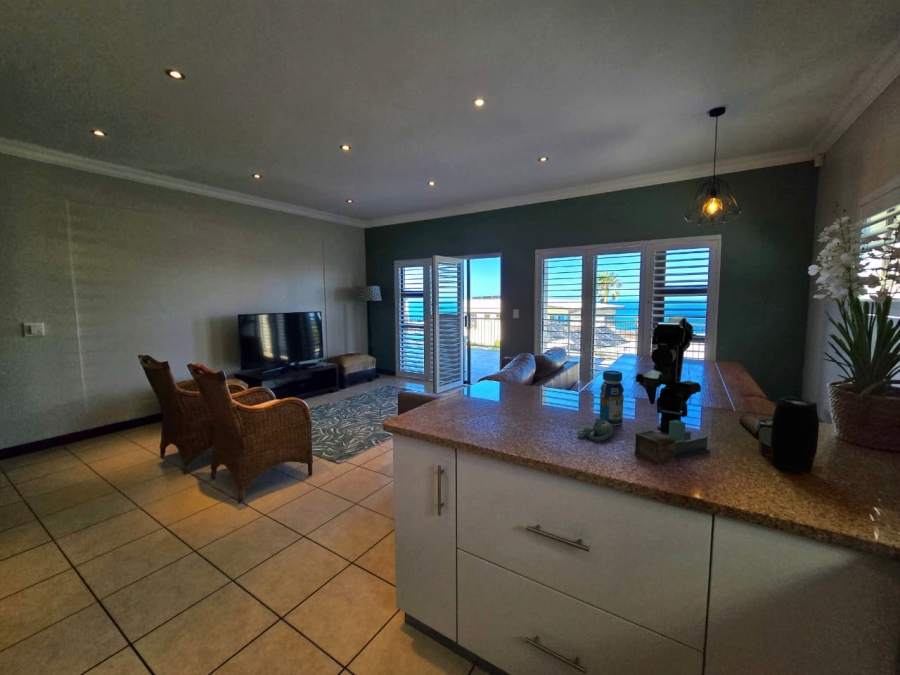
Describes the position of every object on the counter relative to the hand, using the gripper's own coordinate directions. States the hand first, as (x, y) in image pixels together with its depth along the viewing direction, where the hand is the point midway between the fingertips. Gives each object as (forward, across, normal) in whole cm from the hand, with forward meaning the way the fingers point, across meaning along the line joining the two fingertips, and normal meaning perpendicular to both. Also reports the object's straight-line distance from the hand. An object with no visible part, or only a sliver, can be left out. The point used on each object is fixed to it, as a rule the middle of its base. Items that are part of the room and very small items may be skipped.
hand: (665, 407), depth 119 cm
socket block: (+11, +7, -14) cm, 19 cm away
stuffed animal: (+12, -13, -17) cm, 24 cm away
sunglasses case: (+13, +8, +40) cm, 43 cm away
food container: (+12, +20, +23) cm, 33 cm away
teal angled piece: (+10, +7, -10) cm, 16 cm away
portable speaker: (+12, +28, +14) cm, 33 cm away
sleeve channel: (+12, +7, -3) cm, 14 cm away
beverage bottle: (+12, -22, 0) cm, 25 cm away
